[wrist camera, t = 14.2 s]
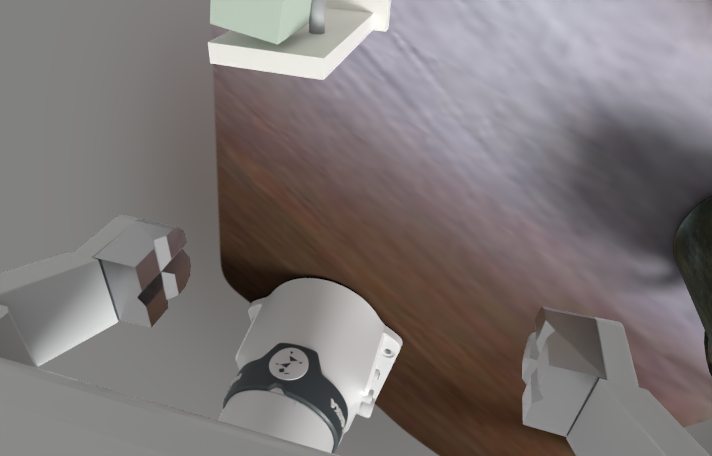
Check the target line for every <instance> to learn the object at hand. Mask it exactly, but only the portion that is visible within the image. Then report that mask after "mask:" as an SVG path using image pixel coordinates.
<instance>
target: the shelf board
mask: <svg viewBox="0 0 712 456" xmlns="http://www.w3.org/2000/svg"><path fill="white" fill-rule="evenodd" d="M311 3H312V0H211V7H210V24H213V25H216V26H220V27H223V28H226V29H229V30H232V31H236V32H239V33H242V34H245V35H248V36H252V37H255V38H258V39H261V40H264V41H268V42H271V43H274V44H277V45H278V44H279V43H281V42H282V41H284V40H285V39H287V38H288V37H290V36H291V35H293V34H294V33H296V32H297V31H299V30H300V29H302V28H303V27H305V26H306V25H307V24H308V23H309V16H310V10H311Z"/></svg>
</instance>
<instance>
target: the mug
mask: <svg viewBox="0 0 712 456" xmlns="http://www.w3.org/2000/svg"><path fill="white" fill-rule="evenodd" d="M673 249H674V256H675V260H676V263H677V265H678V267H679V270H680V272H681V275H682V277H683V279H684V282H685V284H686V286H687V289H688V291H689V293H690V296H691V298H692V301H693V303H694V305H695V308H696V310H697V312H698V315H699V317H700V320H701V322H702V324H703V327H704V329H705V337H704V345H705V354H706V360H707V364H708V368H709V372H710V374H711V376H712V197H710V198H708V199H707V200H705V201H704V202H702V203H701V204H699V205H698V206H697V207H696V208H695V209H694V210H692V211H691V213H690V214H689V215H688V216H687V217H686V218H685V219H684V221H683V222H682V224H681V225H680V227H679V229H678V231H677V233H676V236H675V239H674V245H673Z"/></svg>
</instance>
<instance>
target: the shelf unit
mask: <svg viewBox="0 0 712 456" xmlns="http://www.w3.org/2000/svg"><path fill="white" fill-rule="evenodd" d="M390 6H391V0H312V3H311V10H310V16H309V23H308V24H307V25H306V26H305V27H303V28H302V29H300V30H299V31H297V32H296V33H294V34H293V35H291V36H290V37H288V38H287V39H285V40H284V41H282V42H281V43H279V44H278V45H277V44H274V43H271V42H268V41H264V40H261V39H258V38H255V37H252V36H248V35H245V34H242V33H239V32H236V31H232V30H231V31H229V32H227V33H225V34H223V35H221V36H219V37H217V38H215V39H213V40H211V41H209V42H208V48H209V57H210V63H212V64H219V65H225V66H232V67H239V68H246V69H252V70H259V71H266V72H273V73H279V74H286V75H293V76H300V77H306V78H313V79H320V80H324V79H325V78H326V77H327V76H328V75H329V74H330V73H331V72H332V71H333V70H334V69H335V68H336V67H337V66H338V65H339V64H340V63H341V62H342V61H343V60H344V59H345V58H346V57H347V56H348V55H349V54H350V53H351V52H352V51H353V50H354V49H355V48H356V47H357V46H358V45H359V44H360V43H361V41H362V40H363V39H364V38H365V37H366V36H367V35H368V34H369V33H370V32H371V31H372V30H377V31H384V32H386V31H387V30H388V28H389V17H390Z"/></svg>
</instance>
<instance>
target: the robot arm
mask: <svg viewBox="0 0 712 456" xmlns="http://www.w3.org/2000/svg"><path fill="white" fill-rule="evenodd" d="M185 244H186V238H185V234H184V231H183V230H181V229H180V228H177V227H173V226H169V225H165V224H161V223H157V222H153V221H149V220H145V219H139V218H135V217H131V216H127V215H121V216H117V217H116V218H114V219H113V220H112V221H111V222H110V223H108V224H107V225H106V226H105V227H103V228H102V229H101V230H100V231H99V232H97V233H96V234H95V235H94V236H92V237H91V238H90V239H89V240H88V241H86V242H85V243H84V244H83V245H82V246H80V247H79V248H78V249H77V250H75V251H74V252H73V253H69V252H65V253H62V254H58V255H56V256H53V257H49V258H46V259H43V260H40V261H37V262H34V263H31V264H28V265H25V266H22V267H19V268H16V269H13V270H9V271H6V272H3V273H0V456H339V455H336V454H334V452H335V451H336V449H337V447H338V445H339V443H340V442H341V439H342V437H343V434H344V433H345V432H347V431H348V430H349V427H350V425H351V423H352V421H353V419H354V416H355V414H359V415H361V416H363V417H366V418H370V415H371V413H372V410H373V406H374V403H375V400H376V398H377V396H378V394H379V392H380V390H381V388H382V386H383V384H384V382H385V380H386V378H387V376H388V374H389V372H390V370H391V367H392V365H393V363H394V361H395V359H396V357H397V355H398V353H399V351H400V349H401V346H402V339H401V338H400V337H399V336H398V335H397V334H396V333H395V332H394V331H392V330H391V329H390V328H388V327H387V326H385V325H384V324H383V322H382V321H381V320H380V318H379V317H378V315H377V314H376V312H375V311H374V310H373V308H372V307H371V306H370V305H369V304H368V303H367V302H366V301H365V300H364V299H363V298H361V297H360V296H359V295H357V294H356V293H354V292H353V291H351V290H349V289H348V288H346V287H344V286H341V285H339V284H336V283H334V282H330V281H327V280H322V279H316V278H300V279H294V280H291V281H288V282H285V283H283V284H282V285H280V286H279V287H277V288H276V289H275V290H274V291H273V292H272V293H271V294H270V295H269V296H267V297H265V298H261V299H258V300H255V301H253V302H252V303H251V304H250V306H249V309H248V314H249V317H250V320H251V323H252V324H251V326H250V328H249V330H248V331H247V334H246V336H245V338H244V340H243V342H242V344H241V346H240V348H239V350H238V352H237V354H236V361H237V364H238V368H239V370H240V371H239V373H238V375H237V376H236V378H235V379H234V380H233V382H232V383H231V385H230V387H229V390H228V393H227V395H226V397H225V399H224V403H223V411H222V413H221V415H220V417H219V419H218V420H215V419H211V418H207V417H204V416H201V415H197V414H194V413H191V412H187V411H184V410H180V409H177V408H173V407H170V406H166V405H163V404H159V403H156V402H153V401H149V400H146V399H142V398H139V397H136V396H132V395H128V394H125V393H122V392H118V391H115V390H112V389H108V388H104V387H101V386H98V385H94V384H91V383H88V382H84V381H81V380H77V379H74V378H70V377H67V376H63V375H60V374H56V373H53V372H49V371H46V370H43V369H39V368H38V366H40V365H42V364H44V363H45V362H47V361H49V360H51V359H52V358H54V357H56V356H58V355H60V354H61V353H63V352H65V351H67V350H69V349H71V348H72V347H74V346H76V345H78V344H80V343H81V342H83V341H85V340H87V339H89V338H90V337H92V336H94V335H95V334H97V333H99V332H101V331H103V330H105V329H107V328H108V327H110V326H112V325H114V324H116V323H117V322H118V320H120V321H124V322H129V323H133V324H137V325H142V326H146V327H150V328H151V327H153V325H154V324H155V323H156V322H157V320H158V319H159V318H160V317H161V316H162V315H163V313H164V312H165V311H166V310H167V309H168V299H170V298H172V297H175V296H177V295H179V294H180V293H181V291H182V290H183V289H184V287H185V286H186V283H187V281H188V278H189V276H190V266H191V265H190V259H189V257H188V255H187V254H186V253H185V252H184V250H183V249H182V248H183V246H184V245H185ZM535 321H536V332H534V333H532V334H531V335H530V336H529V338H528V341H527V344H526V348H525V352H524V357H523V366H522V379H523V380H524V382H525V383H526V384H527V386H526V389H525V391H524V394H523V396H522V399H523V424H524V425H527V426H531V427H534V428H538V429H541V430H545V431H548V432H552V433H555V434H558V435H562V436H565V437H567V441H568V442H569V444H570V446H571V447H572V449H573V451H574V453H575V454H576V456H710V455H709V454H708V453H707V452H706V451H705V450H704V449H703V448H702V447H701V446H700V445H699V444H698V443H697V442H696V441H695V440H694V439H693V437H691V435H690V434H689V433H688V432H687V431H686V430H685V429H684V428H683V427H682V426H681V425H680V424H679V423H678V422H677V421H676V420H675V419H674V417H673V416H672V415H671V414H670V413H669V412H668V411H667V410H666V409H665V408H664V407H663V406H662V405H661V404H660V403H659V402H658V401H657V400H656V399H655V397H654V396H653V395H652V394H651V393H650V392H649V391H648V390H646V389H642V388H639V385H638V382H637V378H636V374H635V370H634V366H633V362H632V358H631V354H630V350H629V346H628V342H627V338H626V334H625V330H624V326H623V325H622V324H621V323H620V322H616V321H611V320H606V319H601V318H596V317H593V318H592V317H589V316H584V315H579V314H575V313H570V312H565V311H560V310H556V309H551V308H546V307H542V308H541V309H540V311H539V312H538V315H537V317H536V320H535Z"/></svg>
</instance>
